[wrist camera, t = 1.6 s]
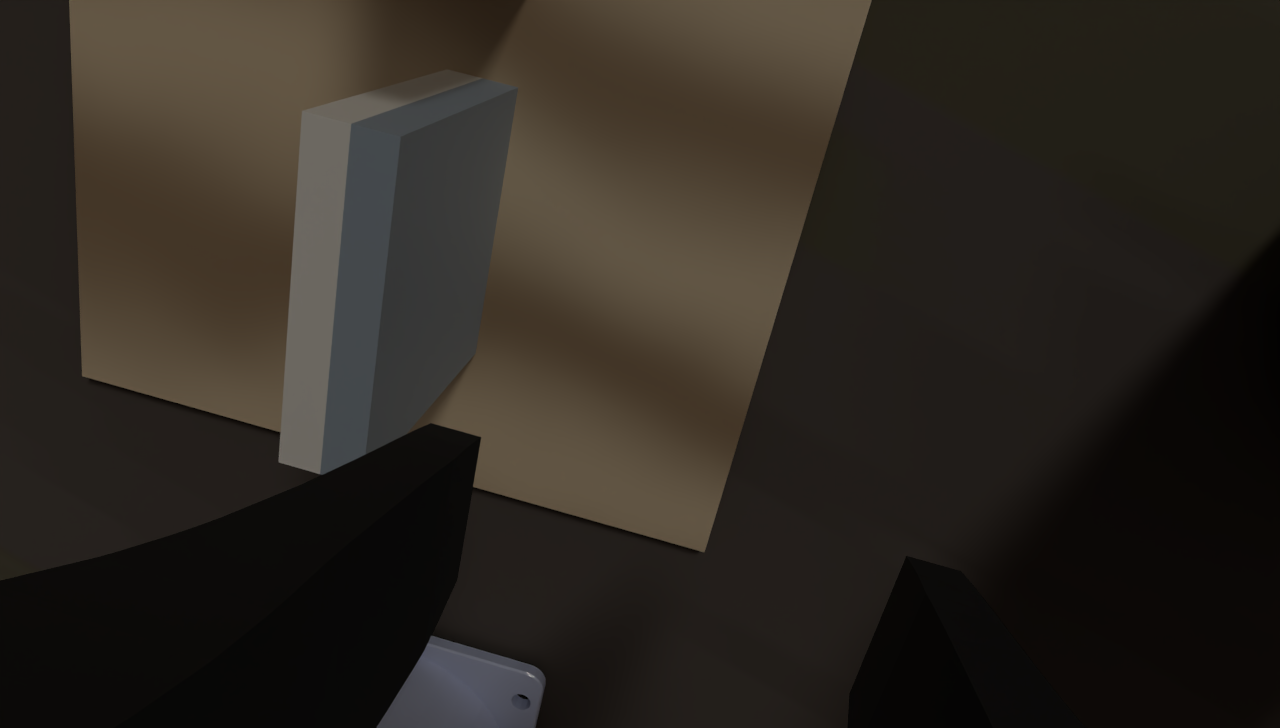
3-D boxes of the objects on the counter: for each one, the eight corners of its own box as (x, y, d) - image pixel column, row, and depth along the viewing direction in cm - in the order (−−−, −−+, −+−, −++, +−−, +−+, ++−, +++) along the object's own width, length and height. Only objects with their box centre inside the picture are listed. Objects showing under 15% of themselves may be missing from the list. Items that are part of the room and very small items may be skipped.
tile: (475, 353, 21) (362, 486, 16) (412, 335, 21) (278, 462, 16) (517, 87, 19) (400, 137, 13) (447, 69, 19) (301, 110, 14)
